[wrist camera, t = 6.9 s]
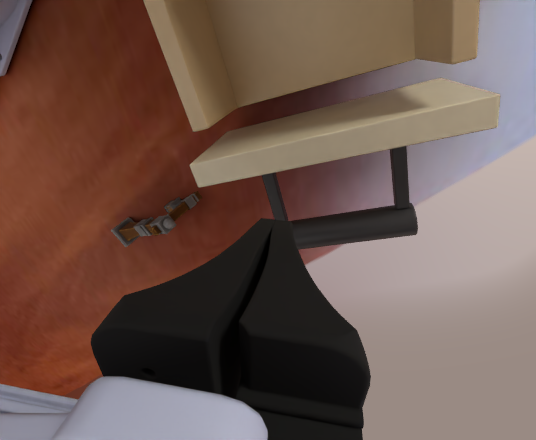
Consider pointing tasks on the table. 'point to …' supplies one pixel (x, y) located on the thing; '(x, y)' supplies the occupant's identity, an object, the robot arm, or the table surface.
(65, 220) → the table surface
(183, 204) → the wooden post with brackets
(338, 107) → the drawer
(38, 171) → the table surface
